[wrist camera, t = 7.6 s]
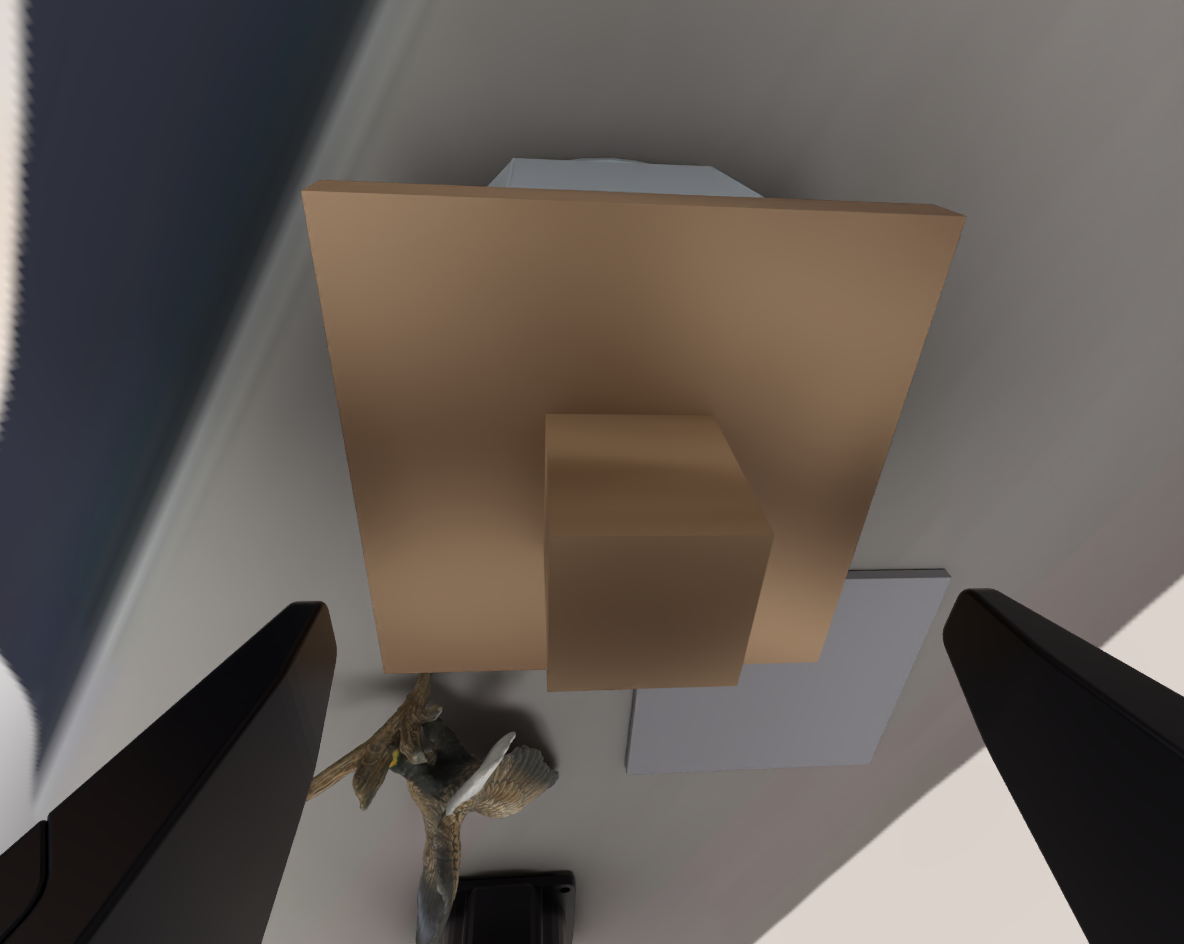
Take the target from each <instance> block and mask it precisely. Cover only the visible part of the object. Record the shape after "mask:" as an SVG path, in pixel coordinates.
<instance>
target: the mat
mask: <svg viewBox="0 0 1184 944" xmlns="http://www.w3.org/2000/svg"><path fill="white" fill-rule="evenodd" d="M951 578H952V577H951V576H950V575H949V574H948V572H947V571H946V570H945V569H944V570H881V571H848V573H847V576H846V579H845V582H844V585H843V588H842V591H841V594H840V597H839V600H838V603H837V606H836V609H835V612H834V615H833V618H832V621H831V624H830V627H829V630H828V633H827V636H826V639H825V642H824V645H823V648H822V651H821V654H820V657H819V660H818V662H803V663H767V664H743V665H742V669H741V673H740V678H739V682H738V686H719V687H686V688H653V689H635V691H634V700H633V708H632V716H631V724H630V733H629V741H628V749H627V757H626V773H627V775H630V774H653V773H676V772H699V771H722V770H744V769H767V768H790V767H813V766H835V765H858V764H869V763H870V761H871V759H872V756H873V754H874V752H875V750H876V747H877V745H878V743H879V741H880V738H881V736H882V734H883V732H884V729H885V727H886V725H887V723H888V720H889V718H890V716H891V714H892V711H893V709H894V707H895V704H896V702H897V700H898V698H899V695H900V693H901V691H902V689H903V686H904V684H905V682H906V680H907V677H908V675H909V673H910V671H911V668H912V666H913V664H914V662H915V659H916V657H917V655H918V653H919V650H920V648H921V646H922V643H923V641H924V639H925V637H926V634H927V632H928V630H929V628H930V625H931V623H932V621H933V619H934V616H935V614H936V612H937V610H938V607H939V605H940V603H941V601H942V598H943V596H944V594H945V592H946V589H947V587H948V585H949V582H950V580H951Z"/></svg>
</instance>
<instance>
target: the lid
mask: <svg viewBox="0 0 1184 944" xmlns="http://www.w3.org/2000/svg"><path fill="white" fill-rule="evenodd" d="M301 194H302V200H303V206H304V211H305V217H306V223H307V229H308V234H309V240H310V246H311V252H312V258H313V263H314V269H315V275H316V281H317V287H318V292H319V298H320V304H321V310H322V316H323V321H324V327H325V333H326V339H327V344H328V350H329V356H330V362H331V368H332V373H333V379H334V385H335V391H336V397H337V402H338V408H339V414H340V420H341V425H342V431H343V437H344V443H345V449H346V454H347V460H348V466H349V472H350V478H351V483H352V489H353V495H354V501H355V507H356V512H357V518H358V524H359V530H360V535H361V541H362V547H363V553H364V559H365V564H366V570H367V576H368V582H369V588H370V593H371V599H372V605H373V611H374V616H375V622H376V628H377V634H378V640H379V645H380V651H381V657H382V663H383V669H384V674H399V673H436V672H473V671H510V670H546V669H547V692H555V691H587V690H620V689H653V688H686V687H719V686H738V682H739V678H740V673H741V669H742V665H743V664H767V663H803V662H818V660H819V657H820V654H821V651H822V648H823V645H824V642H825V639H826V636H827V633H828V630H829V627H830V624H831V621H832V618H833V615H834V612H835V609H836V606H837V603H838V600H839V597H840V594H841V591H842V588H843V585H844V582H845V579H846V576H847V573H848V570H849V567H850V564H851V561H852V558H853V555H854V552H855V549H856V546H857V543H858V540H859V537H860V534H861V531H862V528H863V525H864V522H865V519H866V516H867V513H868V510H869V507H870V504H871V501H872V498H873V495H874V492H875V489H876V486H877V483H878V480H879V477H880V474H881V471H882V468H883V465H884V462H885V459H886V456H887V453H888V450H889V447H890V444H891V441H892V438H893V435H894V432H895V429H896V426H897V423H898V420H899V417H900V414H901V411H902V408H903V405H904V402H905V399H906V396H907V393H908V390H909V387H910V384H911V381H912V378H913V375H914V372H915V369H916V366H917V363H918V360H919V357H920V354H921V351H922V348H923V345H924V342H925V339H926V336H927V333H928V330H929V327H930V324H931V321H932V318H933V315H934V312H935V309H936V306H937V303H938V300H939V297H940V294H941V291H942V288H943V285H944V282H945V279H946V276H947V273H948V270H949V267H950V264H951V261H952V258H953V255H954V252H955V249H956V246H957V243H958V240H959V237H960V234H961V231H962V228H963V225H964V222H965V219H966V216H964V215H961V214H958V213H955V212H953V211H950V210H947V209H944V208H941V207H939V206H936V205H932V204H907V203H882V202H858V201H833V200H808V199H783V198H758V197H733V196H709V195H684V194H659V193H634V192H609V191H585V190H560V189H535V188H510V187H485V186H460V185H436V184H411V183H386V182H361V181H336V180H319V181H317V182H315V183H314V184H312V185H310V186H308V187H307V188H305V189H303V190H301Z"/></svg>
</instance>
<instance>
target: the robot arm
mask: <svg viewBox="0 0 1184 944" xmlns="http://www.w3.org/2000/svg"><path fill="white" fill-rule="evenodd" d="M943 642H944V646H945V649H946V651H947V654H948V656H949V659H950V661H951V664H952V666H953V668H954V671H955V673H956V676H957V678H958V681H959V683H960V686H961V688H962V691H963V693H964V696H965V698H966V700H967V703H968V705H969V708H970V710H971V713H972V715H973V718H974V720H975V723H976V725H977V727H978V730H979V732H980V734H981V736H982V739H983V741H984V743H985V745H986V747H987V749H988V751H989V753H990V755H991V757H992V759H993V761H994V763H995V765H996V767H997V769H998V771H999V772H1000V774H1001V776H1002V778H1003V780H1004V782H1005V784H1006V786H1007V787H1008V790H1009V792H1010V793H1011V795H1012V797H1013V799H1014V801H1015V803H1016V805H1017V807H1018V809H1019V811H1020V812H1021V814H1022V816H1023V818H1024V820H1025V822H1026V824H1027V826H1028V828H1029V830H1030V831H1031V833H1032V835H1033V837H1034V839H1035V841H1036V843H1037V845H1038V847H1039V849H1040V851H1041V853H1042V854H1043V856H1044V858H1045V860H1046V862H1047V864H1048V866H1049V868H1050V870H1051V871H1052V873H1053V875H1054V877H1055V879H1056V881H1057V883H1058V885H1059V887H1060V889H1061V891H1062V892H1063V894H1064V896H1065V898H1066V900H1067V902H1068V904H1069V906H1070V908H1071V910H1072V912H1073V913H1074V915H1075V917H1076V919H1077V921H1078V923H1079V925H1080V927H1081V929H1082V931H1083V932H1084V934H1085V936H1086V938H1087V940H1088V942H1089V944H1184V697H1183V696H1181V695H1180V694H1178V693H1176V692H1174V691H1172V690H1171V689H1169V688H1167V687H1166V686H1164V685H1162V684H1160V683H1159V682H1157V681H1155V680H1153V679H1152V678H1150V677H1148V676H1146V675H1144V674H1143V673H1141V672H1139V671H1137V670H1136V669H1134V668H1132V667H1130V666H1129V665H1127V664H1125V663H1123V662H1122V661H1120V660H1118V659H1116V658H1114V657H1113V656H1111V655H1109V654H1108V653H1106V652H1104V651H1102V650H1101V649H1099V648H1097V647H1095V646H1094V645H1092V644H1090V643H1088V642H1087V641H1085V640H1083V639H1081V638H1080V637H1078V636H1076V635H1074V634H1073V633H1071V632H1069V631H1067V630H1066V629H1064V628H1062V627H1060V626H1059V625H1057V624H1055V623H1053V622H1052V621H1050V620H1048V619H1046V618H1045V617H1043V616H1041V615H1039V614H1038V613H1036V612H1034V611H1032V610H1031V609H1029V608H1027V607H1025V606H1024V605H1022V604H1020V603H1018V602H1016V601H1015V600H1013V599H1011V598H1009V597H1008V596H1006V595H1004V594H1002V593H1001V592H999V591H997V590H995V589H990V588H973V589H965V590H963V591H962V592H961V593H960V594H959V596H958V597H957V600H956V602H955V604H954V606H953V608H952V610H951V613H950V615H949V617H948V619H947V621H946V623H945V626H944V628H943ZM336 656H337V647H336V641H335V636H334V632H333V627H332V623H331V619H330V614H329V610H328V607H327V605H326V604H325V603H324V602H322V601H297V602H293V603H291V604H289V605H288V606H287V607H286V608H285V609H283V610H282V611H281V612H280V613H279V614H278V615H277V616H275V617H274V618H273V619H272V620H271V621H270V622H268V623H267V624H266V625H265V626H264V627H263V628H262V629H260V630H259V631H258V632H257V633H256V634H255V635H254V636H252V637H251V638H250V639H249V640H248V641H247V642H246V643H244V644H243V645H242V646H241V647H240V648H239V649H237V650H236V651H235V652H234V653H233V654H232V655H231V656H229V657H228V658H227V659H226V660H225V661H224V662H223V663H221V664H220V665H219V666H218V667H217V668H216V669H214V670H213V671H212V672H211V673H210V674H209V675H208V676H206V677H205V678H204V679H203V680H202V681H201V682H200V683H198V684H197V685H196V686H195V687H194V688H193V689H191V690H190V691H189V692H188V693H187V694H186V695H185V696H183V697H182V698H181V699H180V700H179V701H178V702H177V703H175V704H174V705H173V706H172V707H171V708H170V709H169V710H167V711H166V712H165V713H164V714H163V715H162V716H160V717H159V718H158V719H157V720H156V721H155V722H154V723H152V724H151V725H150V726H149V727H148V728H147V729H146V730H144V731H143V732H142V733H141V734H140V735H139V736H137V737H136V738H135V739H134V740H133V741H132V742H131V743H129V744H128V745H127V746H126V747H125V748H124V749H123V750H121V751H120V752H119V753H118V754H117V755H116V756H114V757H113V758H112V759H111V760H110V761H109V762H108V763H106V764H105V765H104V766H103V767H102V768H101V769H100V770H98V771H97V772H96V773H95V774H94V775H93V776H92V777H90V778H89V779H88V780H87V781H86V782H85V783H83V784H82V785H81V786H80V787H79V788H78V789H77V790H75V791H74V792H73V793H72V794H71V795H70V796H69V797H67V798H66V799H65V800H64V801H63V802H62V803H60V804H59V805H58V806H57V807H56V808H55V809H54V810H52V811H51V812H50V813H49V815H48V817H47V821H46V820H42V821H40V822H38V823H37V824H36V825H35V826H34V827H33V828H31V829H30V830H29V831H28V832H27V833H26V834H25V835H24V836H22V837H21V838H20V839H19V840H18V841H17V842H15V843H14V844H13V845H12V846H11V847H10V848H9V849H7V850H6V851H5V852H4V853H3V854H1V855H0V944H261V943H262V939H263V936H264V933H265V930H266V927H267V923H268V920H269V917H270V914H271V911H272V907H273V904H274V901H275V898H276V895H277V891H278V888H279V885H280V882H281V879H282V875H283V872H284V869H285V866H286V862H287V859H288V856H289V853H290V850H291V846H292V843H293V840H294V837H295V834H296V830H297V827H298V824H299V821H300V818H301V814H302V811H303V808H304V805H305V802H306V798H307V795H308V792H309V789H310V785H311V782H312V778H313V775H314V771H315V767H316V762H317V758H318V753H319V748H320V743H321V737H322V732H323V727H324V722H325V716H326V711H327V706H328V701H329V695H330V690H331V685H332V680H333V675H334V669H335V664H336ZM575 893H576V885H575V878H574V877H573V876H570V875H558V876H540V877H523V878H505V879H488V880H471V881H459V882H458V886H457V892H456V894H455V899H454V900H453V903H452V907H451V911H450V914H449V917H448V920H447V923H446V925H445V928H444V930H443V932H442V935H441V937H440V939H439V941H438V944H572V938H573V923H574V908H575Z"/></svg>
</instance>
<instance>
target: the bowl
mask: <svg viewBox="0 0 1184 944" xmlns="http://www.w3.org/2000/svg"><path fill="white" fill-rule="evenodd" d="M487 187H510V188H535V189H560V190H585V191H609V192H634V193H659V194H684V195H709V196H733V197H758V198H764V197H763V196H761V195H760V194H758V193H756V192H754V191H753V190H751V189H749V188H748V187H746V186H744V185H743V184H741V183H739V182H737V181H736V180H734V179H732V178H731V177H729V176H727V175H725V174H724V173H722V172H720V171H719V170H717V169H715V168H713V167H712V166H710V165H709V166H692V165H668V164H649V163H645V162H641V161H636V160H627V159H618V158H610V157H608V158H579V159H573V160H548V159H524V158H515V157H514V158H512V160H511V162H510V163H509V164H508V165H507V166H506V167H505V168H504V169H503V170H502V171H501V172H500V173H499V174H498V175H497V177H496V178H495V179H494V180H493V181H492V182H491V183H490V184H489V185H488V186H487Z"/></svg>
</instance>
